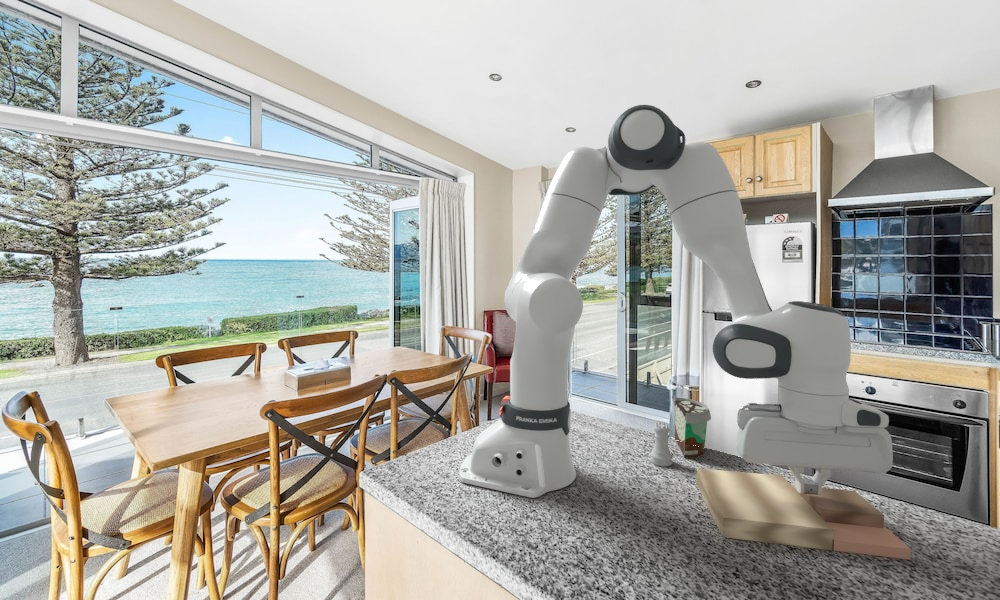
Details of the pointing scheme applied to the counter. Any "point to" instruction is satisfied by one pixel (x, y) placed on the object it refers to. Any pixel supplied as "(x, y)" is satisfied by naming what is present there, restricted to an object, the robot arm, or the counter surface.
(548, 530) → the counter surface
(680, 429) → the food container
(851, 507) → the walnut tile
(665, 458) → the rook chess piece
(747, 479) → the oak board
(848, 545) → the salmon pink pad
